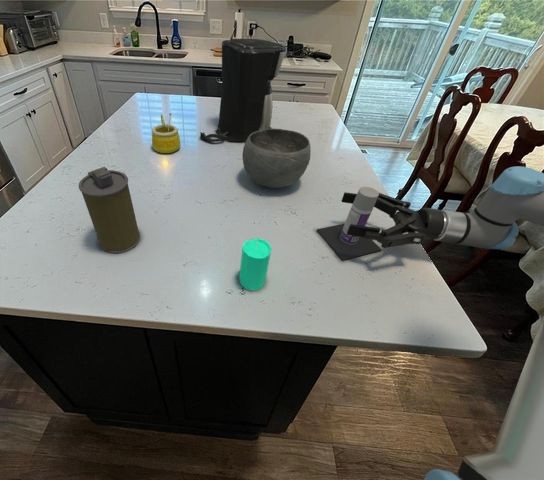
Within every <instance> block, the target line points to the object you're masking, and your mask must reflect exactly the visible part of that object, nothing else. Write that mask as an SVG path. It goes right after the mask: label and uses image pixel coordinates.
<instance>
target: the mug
mask: <svg viewBox="0 0 544 480" xmlns="http://www.w3.org/2000/svg"><path fill="white" fill-rule="evenodd" d="M171 116H172V112H170V113H169V119H168V124H167V123H166V122H165V117H164V114H160V120H161V124H158V125H155V126H154V127H153V128H152V129H151V133H152V134H151V145H152V148H153V150H154V151H156V152H157V153H161V154H172V153H175V152H176V151H178V150H179V149H180V147H181V138H180V134H179V129H178V127H177V126H176V125H173V124H170V122H171Z"/></svg>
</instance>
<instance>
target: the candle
mask: <svg viewBox="0 0 544 480" xmlns="http://www.w3.org/2000/svg"><path fill="white" fill-rule="evenodd" d="M271 254H272V247H271V244H270V243H269V242H268V241H266V239H263V238H258V237H257V238H252V239H249V240H246V241H245V240H244V243H243V244H242V248H241V257H240V266H239V267H240V268H239V277H238V279H239V284H240V285H241V286H242V287H243V288H244V289H247V290H248V291H258V290H260V289H262V288H263V287H264V285H265V283H266V279H267V274H268V269H269V263H270V259H271Z"/></svg>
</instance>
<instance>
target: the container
mask: <svg viewBox="0 0 544 480" xmlns="http://www.w3.org/2000/svg"><path fill="white" fill-rule="evenodd" d="M379 193H380V192H379V191H378V190H377V189H375V188H373V187H370V186H361V187H359V189H358V191H357V193H356V194H357V195H356V198H355V200H354V202H353V204H351V207H350V209H349V212H348V215H347V216H346V219H345V222H344V223H345V224H344V223H343V224H344V227H343V229H342V232H341V234H340V240H341V241H342V242H344V243H345V244H348V245H354V244H356V243H357V242H358V240H359V238H360V237H358V236H351V235H347V231H348V229H349V226H350V224H353V225H360V226H367V223H368V220H369V218H370V216H371V215H372V211H373V209H374V208H375V207H374V205H375V203H376V200H377V198H378V196H379Z"/></svg>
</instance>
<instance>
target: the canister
mask: <svg viewBox="0 0 544 480" xmlns="http://www.w3.org/2000/svg"><path fill="white" fill-rule="evenodd" d="M78 189H79V191H80V192H81V194H82V198H83V200H84V203H85V206H86V209H87V211H88V214H89V217H90V220H91V222H92V226H93V228H94V231H95V234H96V237H97V240H98V245H99V248H101V249H102V250H103V251H104V252H106V253H110V254H121V253H122V254H123V253H125V252H127V251H131V250H132V249H134V248H135V247H136V246H137V245H138V244H139V242H140V240H141V233H140V231H139V227H138V222H137V218H136V214H135V210H134V204H133V201H132V195H131V192H130V188H129V178H128V176H127V175H126V174H125V173H124V172H121V171H118V170H114V169H108V168H107V167H106V166H102V167H100V168H96V169H94V170H91V171H88V172H87V175H85V176H83V178H82V179H81V180H80V181H79V183H78Z"/></svg>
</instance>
